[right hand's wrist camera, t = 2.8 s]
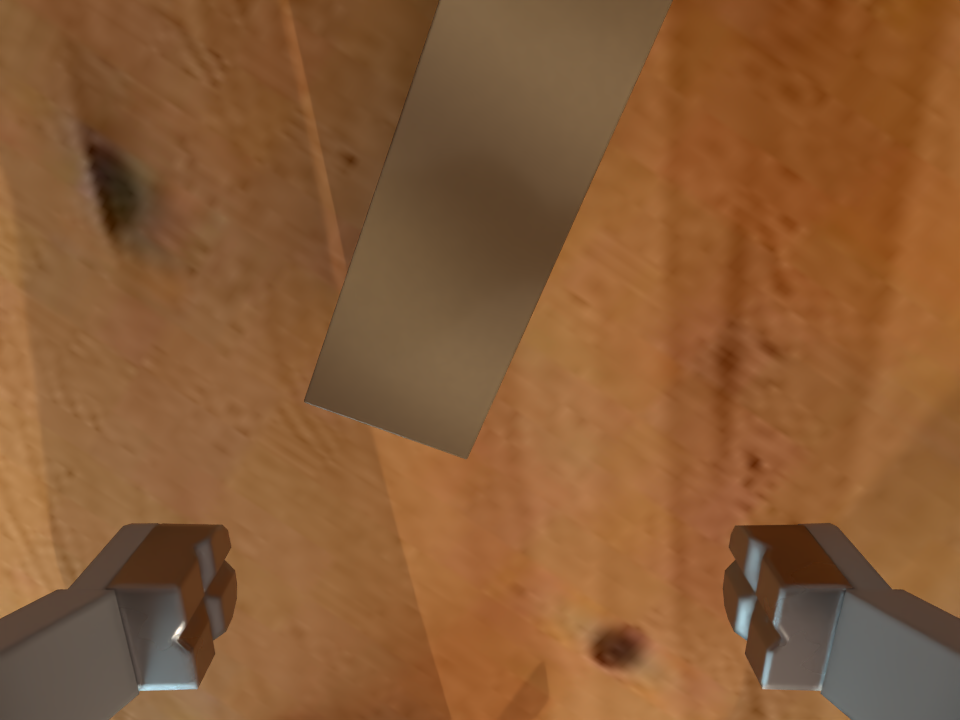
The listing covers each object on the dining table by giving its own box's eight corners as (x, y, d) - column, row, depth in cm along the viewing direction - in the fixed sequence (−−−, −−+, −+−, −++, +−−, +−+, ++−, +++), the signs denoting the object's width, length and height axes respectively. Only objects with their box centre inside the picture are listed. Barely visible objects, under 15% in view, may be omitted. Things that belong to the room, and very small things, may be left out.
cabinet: (507, -119, 24) (527, -264, 15) (642, -53, 25) (741, -152, 16) (356, 313, 30) (302, 403, 21) (469, 356, 30) (467, 460, 21)
